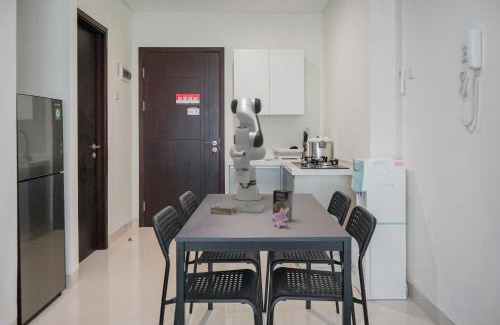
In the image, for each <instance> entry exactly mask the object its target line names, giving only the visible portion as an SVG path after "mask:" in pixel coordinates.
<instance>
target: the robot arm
mask: <svg viewBox="0 0 500 325" xmlns="http://www.w3.org/2000/svg"><path fill="white" fill-rule="evenodd" d="M262 108H263V104H262V101H261V99H260V98H255V97H254V98H252V97H249V96H246V95H243V96H241V97H239V98H236V99H235V98H234V99H232V100H231V102H230V110H231V113H232V114H233V115H234V114H235V115H236V118H237V119H238V120H239V126H237V127H236V128H235V134H234V135H233V144H234V145H232V146H231V147H230V149H229V157H230V158H231V159H232V160H233V168H234V170H236V169H238V173H239V176H242V171H247V170H242V169H248V171H250V182H249V183H238V187H237V188H236V196H235V197H234V199H235V200H238V201H248V202H251V201H261V200H262V198H263V197H262V195H259V194H260V190H259V188H258V186H257V179H256V169H255V167H254V166H253V165H251V164H250V163H251V161H261V160H263V159H264V158H265V157H266V153H267V151H266V148H265V147H264V146H263V145H264V143H265V142H264V141H265V138H264V136H263V132H262V128H261V124H260V119H259V117H258V114H260V112H262Z"/></svg>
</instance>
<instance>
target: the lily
mask: <svg viewBox="0 0 500 325" xmlns="http://www.w3.org/2000/svg"><path fill="white" fill-rule="evenodd" d="M288 210H289V208H286V209H285V210H283V208H281V210H280V212H279V213H275V214H273V213H272V215H271V216H272V219H273V218H274V219H275V220H273V221H274V222H273V223H272V227H274V226H276V228H277V229H280V226H281V224H282V223H283V222H284V223H285V224H286V226H287V227H288V224H287V222H286V220H288V218H287V217H286V216H285V215H286V213H287V211H288Z"/></svg>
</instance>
